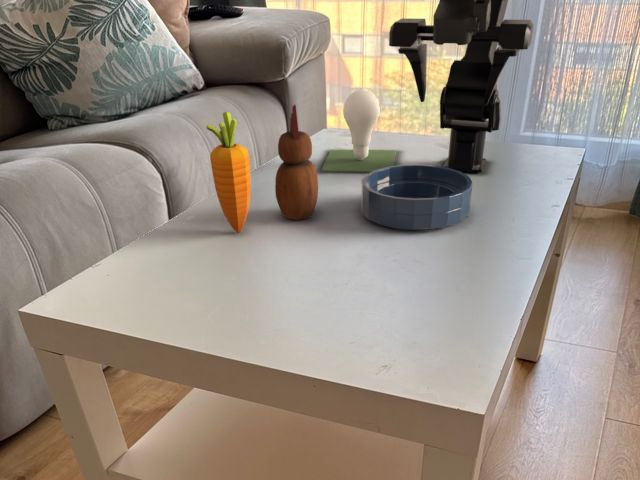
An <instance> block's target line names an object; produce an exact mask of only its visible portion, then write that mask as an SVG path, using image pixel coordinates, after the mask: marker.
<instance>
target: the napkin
mask: <svg viewBox="0 0 640 480" xmlns="http://www.w3.org/2000/svg"><path fill="white" fill-rule="evenodd" d="M396 155H397V150H395V149H394V150H393V149H392V150H391V149H390V150H389V149H388V150H387V149H386V150H385V149H384V150H382V149H381V150H380V149H369V150H368V156H367V157H366V158H364V160H358V159H357V158H356V157H354V152H353V149H330V150H329V152H328V155H327V157H326V159H325V162H324V164H323V167H322V169H321V172H322V173H367V174H368V173H370V172H372V171H374V170H378V169H381V168H385V167H389V166H395V161H396Z"/></svg>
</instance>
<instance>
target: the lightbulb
mask: <svg viewBox="0 0 640 480" xmlns="http://www.w3.org/2000/svg"><path fill="white" fill-rule="evenodd" d="M380 112H381V106H380V102H379V100H378V99H377V97H376V95H375V94H374V93H372V92H371V91H369V90H365V89H359V90H355V91H353V92H351V93H350V94H349V95H348V96H347V98H346V99H345V101H344V103H343V108H342V113H343V118H344V121H345V123H346V125H347V127H348V129H349V132H350V136H351V144H352V147H353V148H352V150H353V152H354V157H356V158H357V159H358V160H364V158H366V157H367V156H368V150H370V149H369V147H370V144H371V137H372V133H373V130H374V127H375V125H376V124H377V121H378V119H379V117H380Z"/></svg>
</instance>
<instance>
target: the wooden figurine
mask: <svg viewBox="0 0 640 480" xmlns="http://www.w3.org/2000/svg"><path fill="white" fill-rule="evenodd" d="M291 109H292V110H291V114H290V120H289V121H290V123H289V124H290V125H289V131H286V132H283V133H282V134H281V135H280V136H279V138H278V143H277V152H278V153H277V154H278V156H279V158H280V160H281V161H282V162H281V163H280V164H279V167H278V169H277V170H276V173H275V186H274V190H275V199H276V202H277V205H278V208H279V210H280V212H281V214H282V215H283V216H284V217H285V218H287V219H288V220H296V221H299V220H304V219H308V218H309V217H311V216H312V215H313V214H314V212H315V210H316V206H317V203H318V198H319V195H318V194H319V177H318V172H317V168H316V166H315V164H314V163H313V162H312V160H310V159H311V158H312V155H313V144H312V140H311V137H310V135H309V134H308V132H305V131H301V130H299V123H298V113H297V105H296V104H294V105H292V107H291Z"/></svg>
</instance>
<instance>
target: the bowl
mask: <svg viewBox="0 0 640 480" xmlns="http://www.w3.org/2000/svg"><path fill="white" fill-rule="evenodd" d="M472 191H473V181H472V179H471V177H470V176H469V175H467V174H466V173H464V172H463V171H457V170H454V169H451V168H447V167H443V166H441V165H434V164H433V165H432V164H422V163H421V164H420V163H419V164H418V163H417V164H396V165H394V166H389V167H385V168H381V169H378V170H374V171H372V172H370V173H368V172H367V174H365V175H364V176H363V178H362V179H361V200H360V201H361V203H360V205H361V207H360V208H361V214H362V215H363V216H364V217H365V218H366V219H367V220H369V221H371V222H373V223H375V224H378V225H380V226H384V227H389V228H393V229H402V230H433V229H440V228H445V227H451V226H452V225H455V224H459V223H460V222H461V221H463V220H464V219H466V218H467V217H468V215H469V213H470V207H471V200H472Z"/></svg>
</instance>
